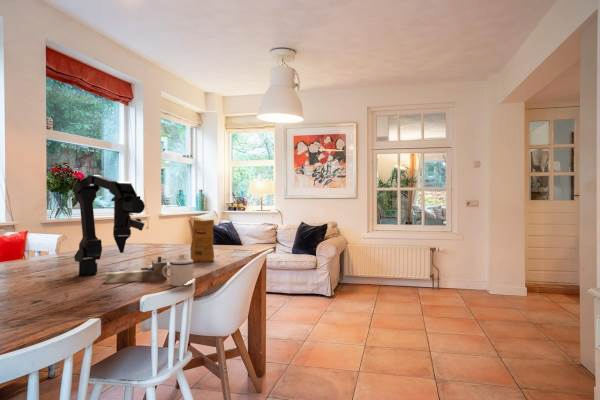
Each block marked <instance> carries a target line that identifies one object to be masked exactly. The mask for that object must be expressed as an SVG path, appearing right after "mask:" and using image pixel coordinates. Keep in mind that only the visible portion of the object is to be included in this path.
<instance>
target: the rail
mask: <svg viewBox="0 0 600 400" xmlns="http://www.w3.org/2000/svg"><path fill="white" fill-rule="evenodd" d="M149 266H150V265H149ZM146 267H147V270H141V269H138V270H126V271H125V270H124V271H122V270H121V271H111V272H110V271H108V272H105V284H113V283H114V284H115V283H124V282H125V283H126V282H140V281H141V282H142V271H151V266H150V267H148V266H146Z"/></svg>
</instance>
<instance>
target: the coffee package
mask: <svg viewBox="0 0 600 400" xmlns="http://www.w3.org/2000/svg"><path fill="white" fill-rule="evenodd" d="M192 225H193V226H192V242H191V244H190V259H192V260H193V262H194V263H195V262H196V263H197V262H201V263H205V262H206V263H207V262H209V263H210V262H213V261H214V259H215V252H214V225H215V221H214V219H209V220H208V219H206V220H201V219H193V224H192Z"/></svg>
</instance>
